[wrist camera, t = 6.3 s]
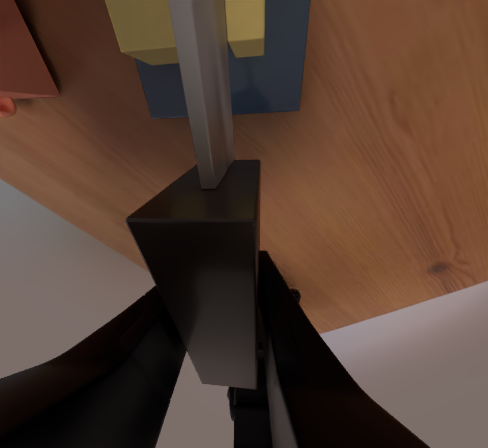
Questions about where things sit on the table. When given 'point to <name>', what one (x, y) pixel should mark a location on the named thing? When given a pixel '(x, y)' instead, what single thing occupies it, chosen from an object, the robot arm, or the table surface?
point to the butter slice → (245, 27)
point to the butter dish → (245, 69)
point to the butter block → (144, 30)
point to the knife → (207, 215)
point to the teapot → (20, 62)
